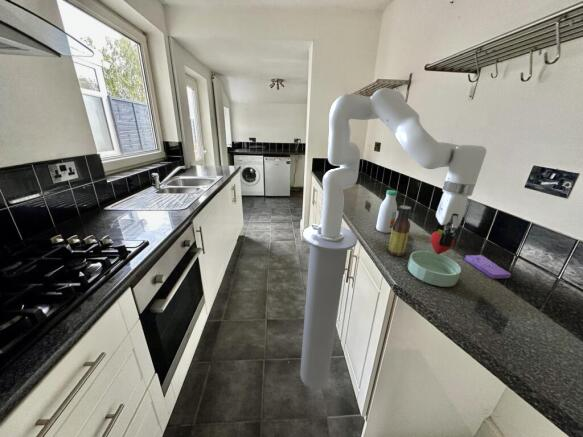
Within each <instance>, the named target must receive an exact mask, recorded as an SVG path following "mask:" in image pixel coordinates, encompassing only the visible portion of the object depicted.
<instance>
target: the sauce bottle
mask: <svg viewBox="0 0 583 437" xmlns="http://www.w3.org/2000/svg"><path fill="white" fill-rule="evenodd" d="M411 211H412V207H411V206H408V205H400V206H398V214H397V217H396V218H395V222H394V224H393V226H392V232H390V237H389V243H388V252H389V253H390V254H391V255H393V256H395V257H396V256H397V257H402V256H404V255H405V253H406V248H407V244H408V239H409V235H410V228H411V222H410V220H409V218H410V213H411Z"/></svg>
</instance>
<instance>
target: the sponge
mask: <svg viewBox="0 0 583 437" xmlns="http://www.w3.org/2000/svg"><path fill="white" fill-rule="evenodd" d="M464 260H465V261H466V262H468V263H469V264H471V265H472V266H474V268H477V269H478V270H479V271H481V272H482V273H484V274H485V275H486V276H488V277H489V278H491V279H510V278H511V276H512V273H510V272H509V271H507V270H505V269H504V268H502V267H500V266H499V265H497V264H496V263H495V262H493V261H492V260H490V259H488V258H487V257H486V256H484V255H482V254H476V255H469V254H468V255H465V257H464Z"/></svg>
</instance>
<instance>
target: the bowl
mask: <svg viewBox="0 0 583 437" xmlns="http://www.w3.org/2000/svg"><path fill="white" fill-rule="evenodd" d="M407 270H408V271H409V272H410V274H411V275H412V276H413V277H415V278H417V279H418V280H420V281H422V282H424V283H426V284H429V285H433V286H437V287H443V288H449V287H454V286H455V285H456V284H457V283H458V281H459V278H460V276H461V273H462V267H461V265H460V264H459V263H458V262H457V261H455V260H454V259H452V258H450V257H449V256H446V255H443V254H442V253H441V254H436V253H435V251H429V250H416V251H413V252H411V253H410V255H409V258H408V262H407Z"/></svg>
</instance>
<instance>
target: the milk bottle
mask: <svg viewBox="0 0 583 437" xmlns="http://www.w3.org/2000/svg"><path fill="white" fill-rule="evenodd" d="M397 195H398V191H396V190H393V189H387V190H386V194H385V198H384V200H383V201H382V202H381V204H380V207H379V210H378V216H377V221H376V227H375V228H376V229H375V230H376V231H379V232H380V233H385V234H391V232H392V226H393V224H394V223H395V221H396V218H397V217H396V216H397V211H398V204H397V200H396V197H397Z"/></svg>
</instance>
